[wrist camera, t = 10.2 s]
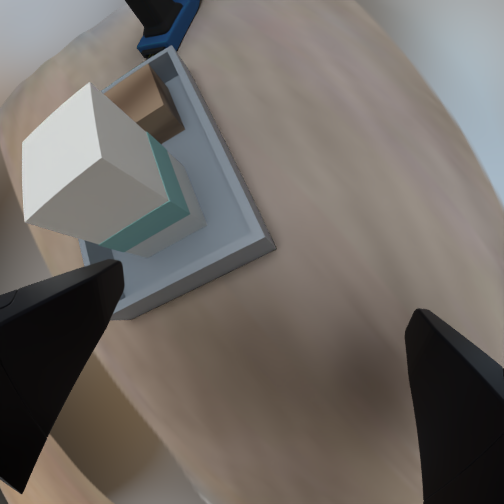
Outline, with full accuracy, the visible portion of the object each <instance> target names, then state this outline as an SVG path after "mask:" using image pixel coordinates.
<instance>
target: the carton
mask: <svg viewBox="0 0 504 504" xmlns="http://www.w3.org/2000/svg"><path fill="white" fill-rule="evenodd" d="M22 188H23V207H24V220H25V223H29V224H32V225H35V226H38V227H42V228H45V229H48V230H51V231H55V232H58V233H61V234H65V235H68V236H72V237H75V238H78V239H82V240H85V241H89V242H92V243H96V244H98V245H99V246H102V247H106V248H109V249H113V250H116V251H120V252H127V253H131V254H135V255H138V256H142V257H146V258H148V257H150V256H152V255H154V254H156V253H157V252H159V251H161V250H163V249H165V248H166V247H168V246H170V245H172V244H174V243H175V242H177V241H179V240H181V239H183V238H185V237H186V236H188V235H190V234H192V233H194V232H196V231H198V230H199V229H201V228H203V227H205V226H207V223H206V221H205V218H204V216H203V213H202V211H201V208H200V206H199V203H198V201H197V198H196V196H195V193H194V191H193V188H192V186H191V183H190V180H189V178H188V175H187V173H186V170H185V168H184V166H183V165H182V164H181V163H180V162H179V161H177V160H176V159H175V158H174V157H173V156H172V155H171V154H170V153H169V152H168V151H167V150H166V148H165V147H163V146H162V145H161V144H160V143H159V142H158V141H157V140H156V139H155V138H154V137H152V136H151V135H150V134H149V133H148V132H147V131H146V132H145V131H144V130H143V129H142V128H141V127H140V126H139V125H138V124H137V123H136V122H134V121H133V120H132V119H131V118H130V117H129V116H128V115H127V114H125V113H124V112H123V111H122V110H121V109H120V108H119V107H118V106H117V105H115V104H114V103H113V102H112V101H111V100H110V99H109V98H108V97H106V96H105V95H104V94H103V93H102V92H101V91H100V90H99V89H97V88H96V87H95V86H94V85H93V84H92V83H91V82H89V83H88V84H86V85H85V86H84V87H83V88H81V89H80V90H79V91H78V92H76V93H75V94H74V95H73V96H72V97H70V98H69V99H68V100H67V101H66V102H65V103H63V104H62V105H61V106H60V107H59V108H58V109H57V110H55V111H54V112H53V113H52V114H51V115H50V116H49V117H48V118H47V119H46V120H45V121H43V122H42V123H41V124H40V125H39V126H38V127H37V128H36V129H35V130H34V131H33V132H32V133H31V134H30V135H29V136H28V137H27V138H26V139H25V140H24V141H23V143H22Z"/></svg>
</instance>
